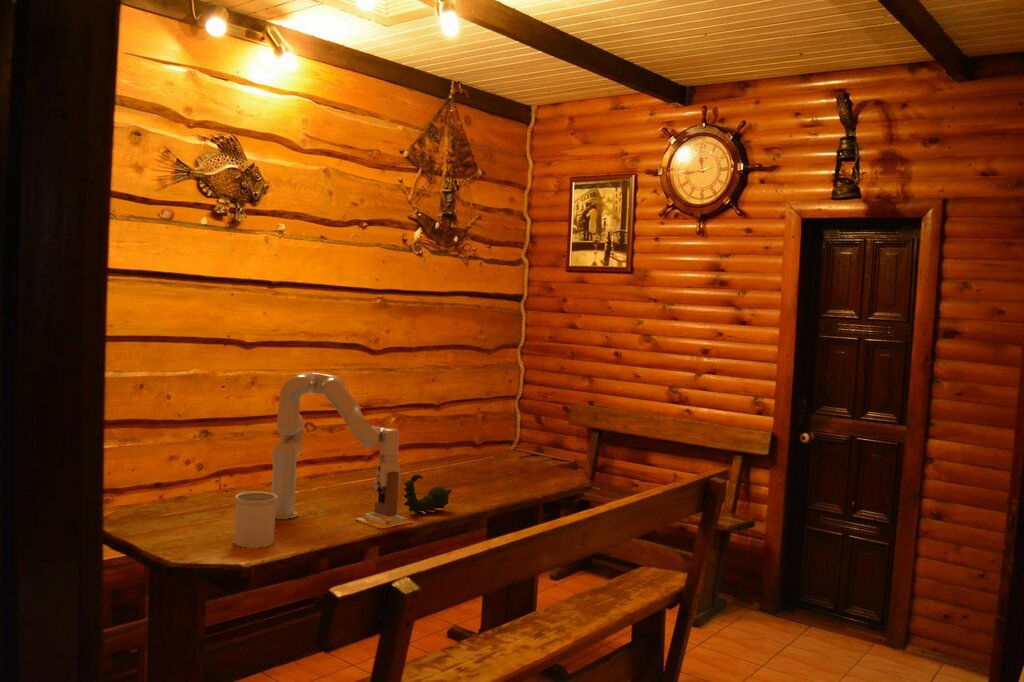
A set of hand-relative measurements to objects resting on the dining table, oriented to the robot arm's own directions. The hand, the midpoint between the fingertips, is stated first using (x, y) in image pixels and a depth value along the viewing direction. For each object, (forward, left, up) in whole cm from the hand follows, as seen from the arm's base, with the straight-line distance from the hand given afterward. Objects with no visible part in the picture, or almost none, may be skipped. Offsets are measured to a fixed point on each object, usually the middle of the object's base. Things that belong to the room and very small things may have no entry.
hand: (386, 501), depth 353 cm
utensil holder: (-59, +4, -9) cm, 60 cm away
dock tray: (0, 0, -9) cm, 9 cm away
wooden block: (0, 0, -6) cm, 6 cm away
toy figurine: (+26, +2, -9) cm, 28 cm away
